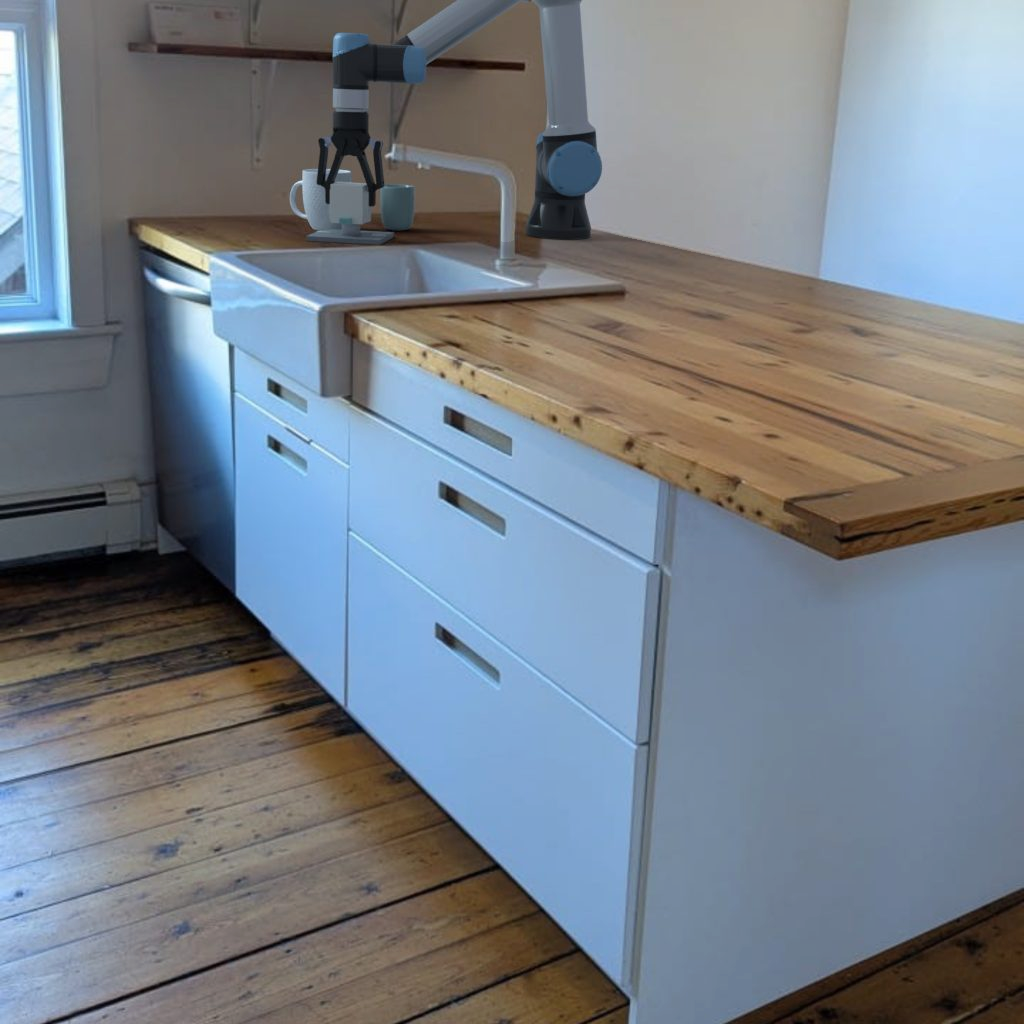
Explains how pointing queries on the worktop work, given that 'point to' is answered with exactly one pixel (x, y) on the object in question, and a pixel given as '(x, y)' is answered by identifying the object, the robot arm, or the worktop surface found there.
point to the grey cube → (348, 202)
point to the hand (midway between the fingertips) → (350, 220)
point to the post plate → (350, 235)
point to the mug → (316, 199)
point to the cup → (397, 206)
